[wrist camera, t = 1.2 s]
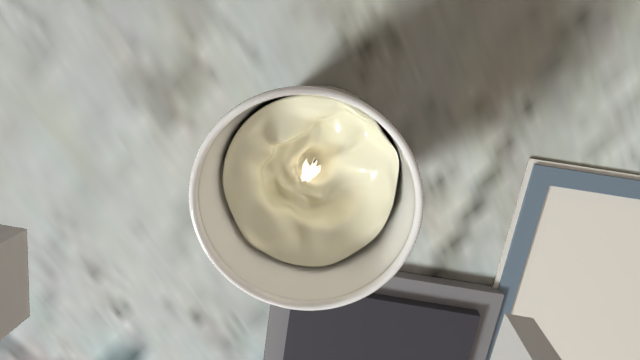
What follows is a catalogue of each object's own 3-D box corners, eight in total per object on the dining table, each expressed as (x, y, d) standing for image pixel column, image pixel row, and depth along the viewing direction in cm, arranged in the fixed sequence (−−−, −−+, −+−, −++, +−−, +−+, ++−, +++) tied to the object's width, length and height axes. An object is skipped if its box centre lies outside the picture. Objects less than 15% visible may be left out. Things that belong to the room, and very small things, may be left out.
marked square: (529, 157, 29) (532, 159, 29) (824, 203, 29) (831, 206, 28) (462, 395, 34) (463, 399, 34) (710, 436, 34) (715, 442, 34)
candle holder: (342, 42, 28) (337, 34, 17) (423, 168, 30) (469, 240, 18) (220, 128, 30) (140, 174, 19) (303, 241, 32) (277, 348, 20)
